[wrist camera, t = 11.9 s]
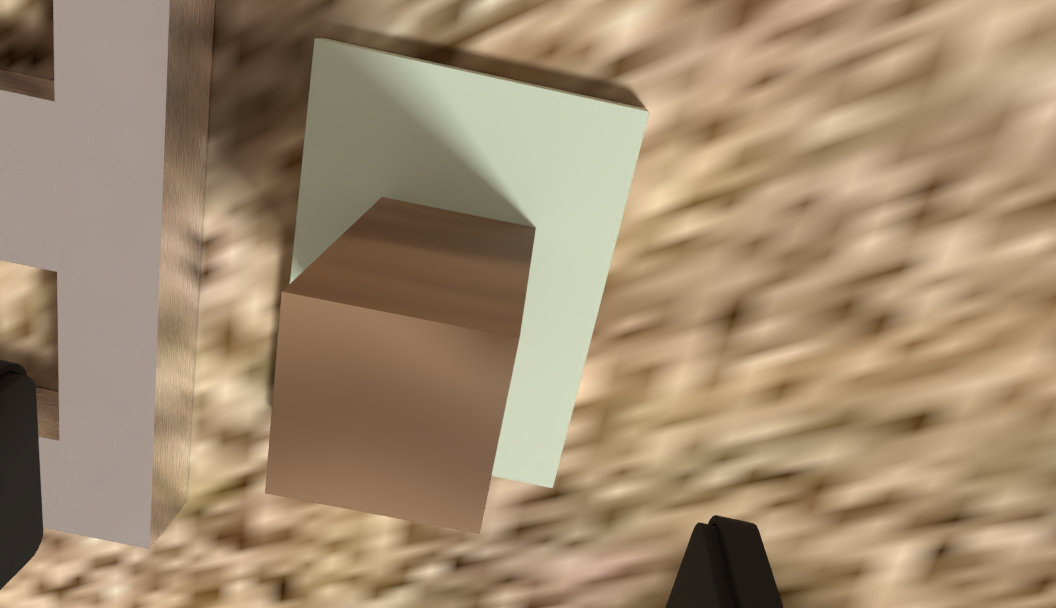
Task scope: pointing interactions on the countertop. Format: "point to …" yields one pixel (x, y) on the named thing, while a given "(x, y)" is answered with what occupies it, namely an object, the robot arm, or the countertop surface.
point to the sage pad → (481, 200)
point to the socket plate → (114, 252)
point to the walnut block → (399, 365)
